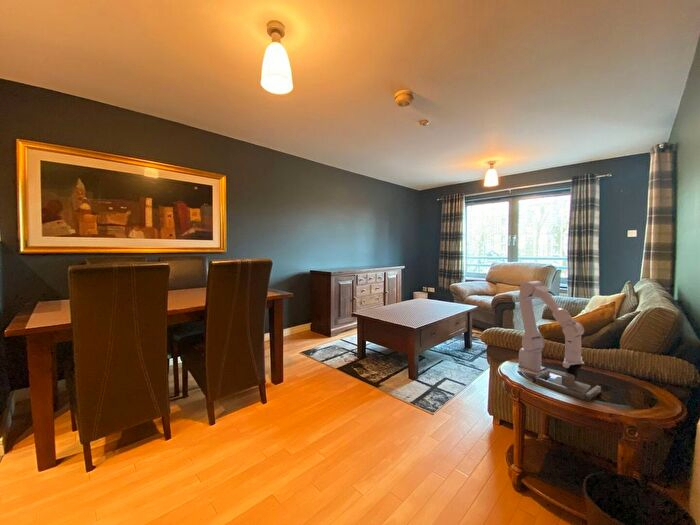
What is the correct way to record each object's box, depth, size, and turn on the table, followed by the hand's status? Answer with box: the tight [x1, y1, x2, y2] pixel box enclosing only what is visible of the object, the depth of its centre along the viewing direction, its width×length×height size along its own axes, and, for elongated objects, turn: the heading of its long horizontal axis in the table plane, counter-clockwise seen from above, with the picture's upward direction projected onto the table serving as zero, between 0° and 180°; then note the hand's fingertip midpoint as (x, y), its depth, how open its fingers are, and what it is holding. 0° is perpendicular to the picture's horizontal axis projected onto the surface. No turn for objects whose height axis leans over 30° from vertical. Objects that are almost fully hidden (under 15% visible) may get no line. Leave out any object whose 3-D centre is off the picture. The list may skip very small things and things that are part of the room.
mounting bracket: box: [532, 370, 602, 403], centre depth 127 cm, size 20×13×2 cm, turn 32°
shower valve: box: [545, 368, 592, 393], centre depth 129 cm, size 12×6×15 cm
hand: (572, 379), depth 131 cm, fingers closed
